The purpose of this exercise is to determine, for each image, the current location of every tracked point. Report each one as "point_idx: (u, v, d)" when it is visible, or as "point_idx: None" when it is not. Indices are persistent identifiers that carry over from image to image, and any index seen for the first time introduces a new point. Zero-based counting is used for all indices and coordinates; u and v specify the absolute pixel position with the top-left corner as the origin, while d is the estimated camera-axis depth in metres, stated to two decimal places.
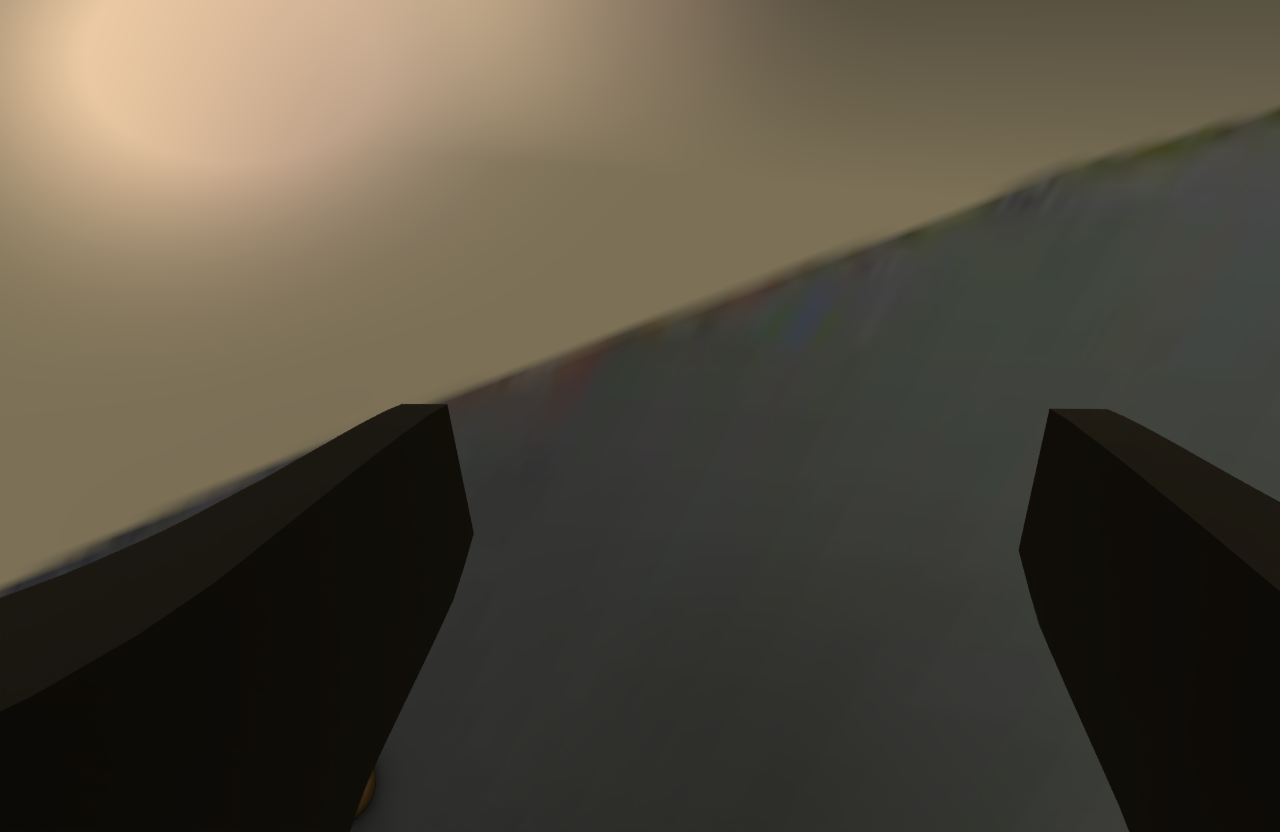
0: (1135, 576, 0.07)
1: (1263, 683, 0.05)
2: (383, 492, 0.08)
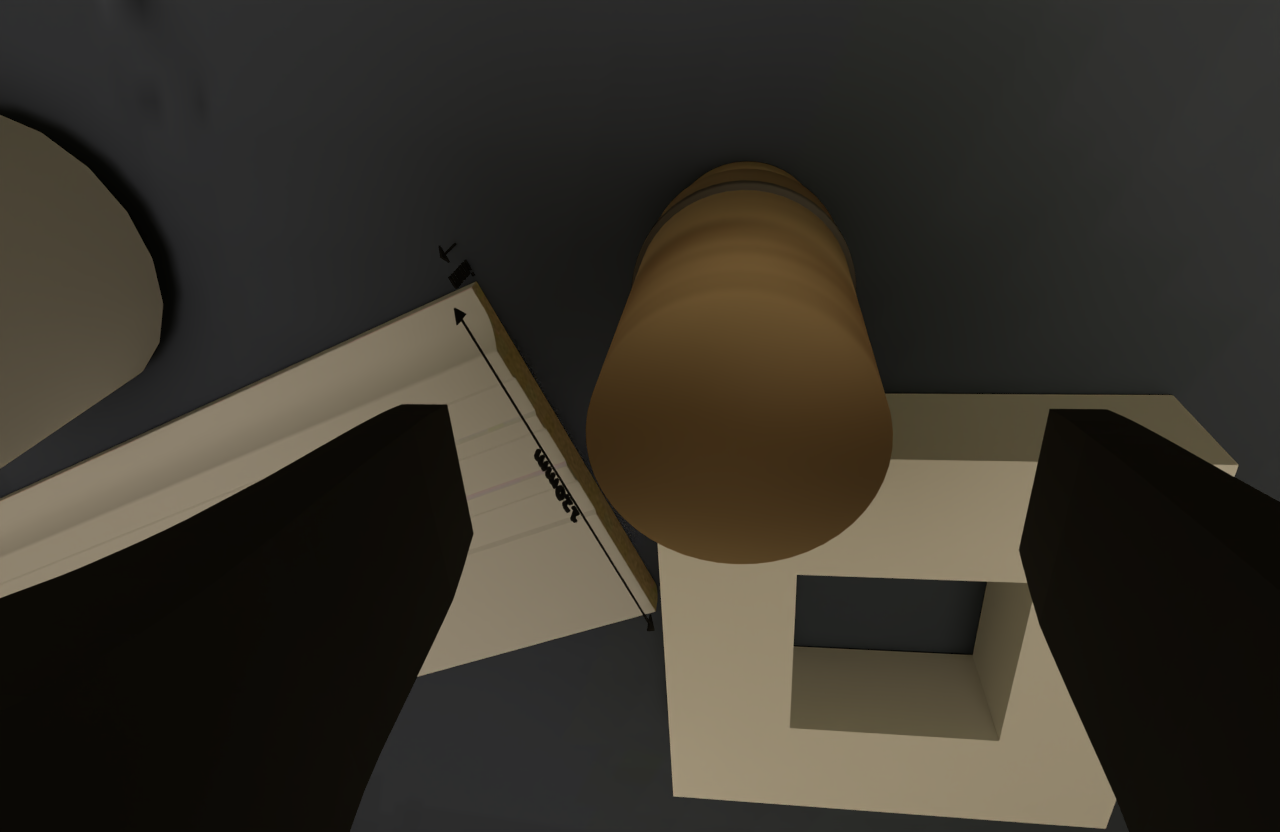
0: (1134, 576, 0.07)
1: (1262, 683, 0.05)
2: (383, 492, 0.08)
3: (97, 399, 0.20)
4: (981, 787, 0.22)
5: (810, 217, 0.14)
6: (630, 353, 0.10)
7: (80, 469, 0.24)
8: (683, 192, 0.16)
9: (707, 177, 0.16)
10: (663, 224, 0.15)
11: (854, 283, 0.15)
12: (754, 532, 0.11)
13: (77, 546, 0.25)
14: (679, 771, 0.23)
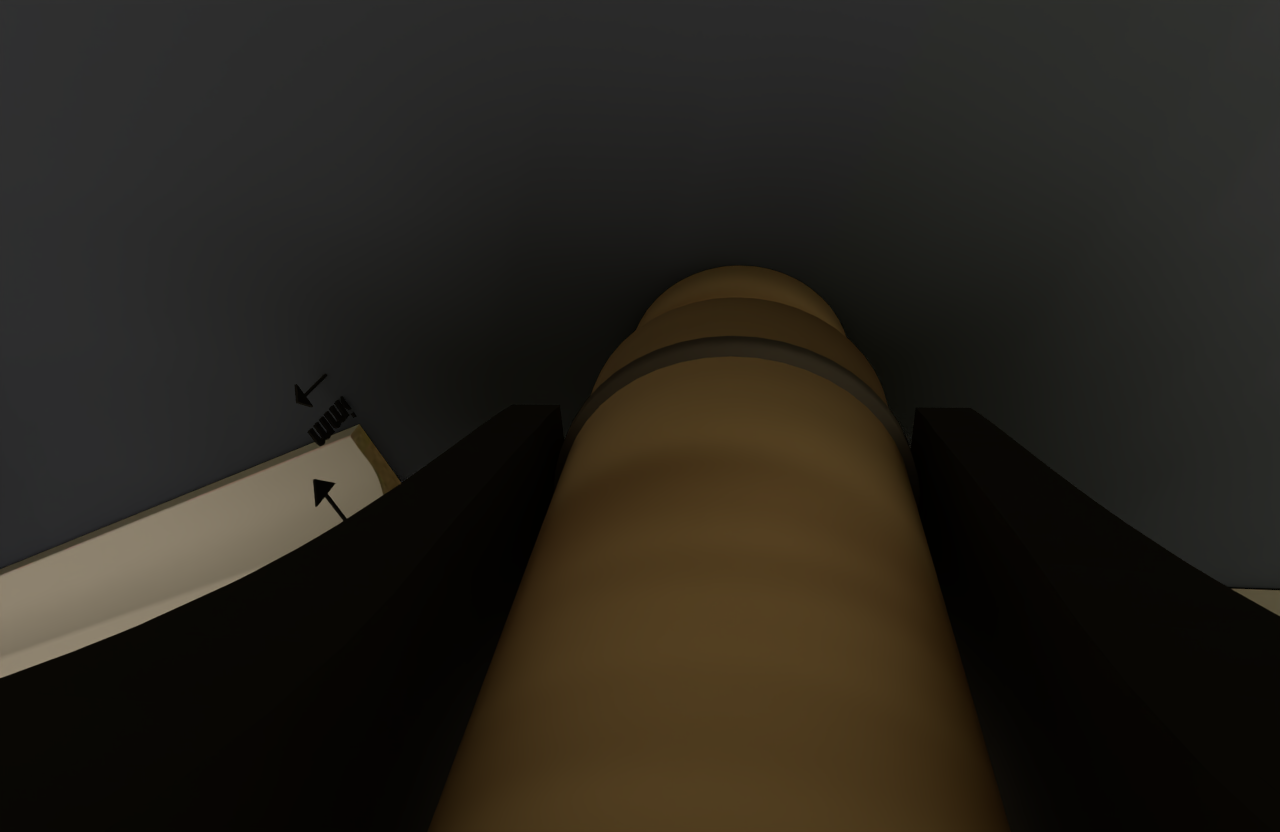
0: (966, 570, 0.07)
1: (1041, 672, 0.06)
2: (515, 495, 0.08)
3: None
4: None
5: (848, 411, 0.08)
6: None
7: None
8: (639, 332, 0.10)
9: (677, 310, 0.10)
10: (599, 405, 0.09)
11: (917, 500, 0.09)
12: None
13: None
14: None
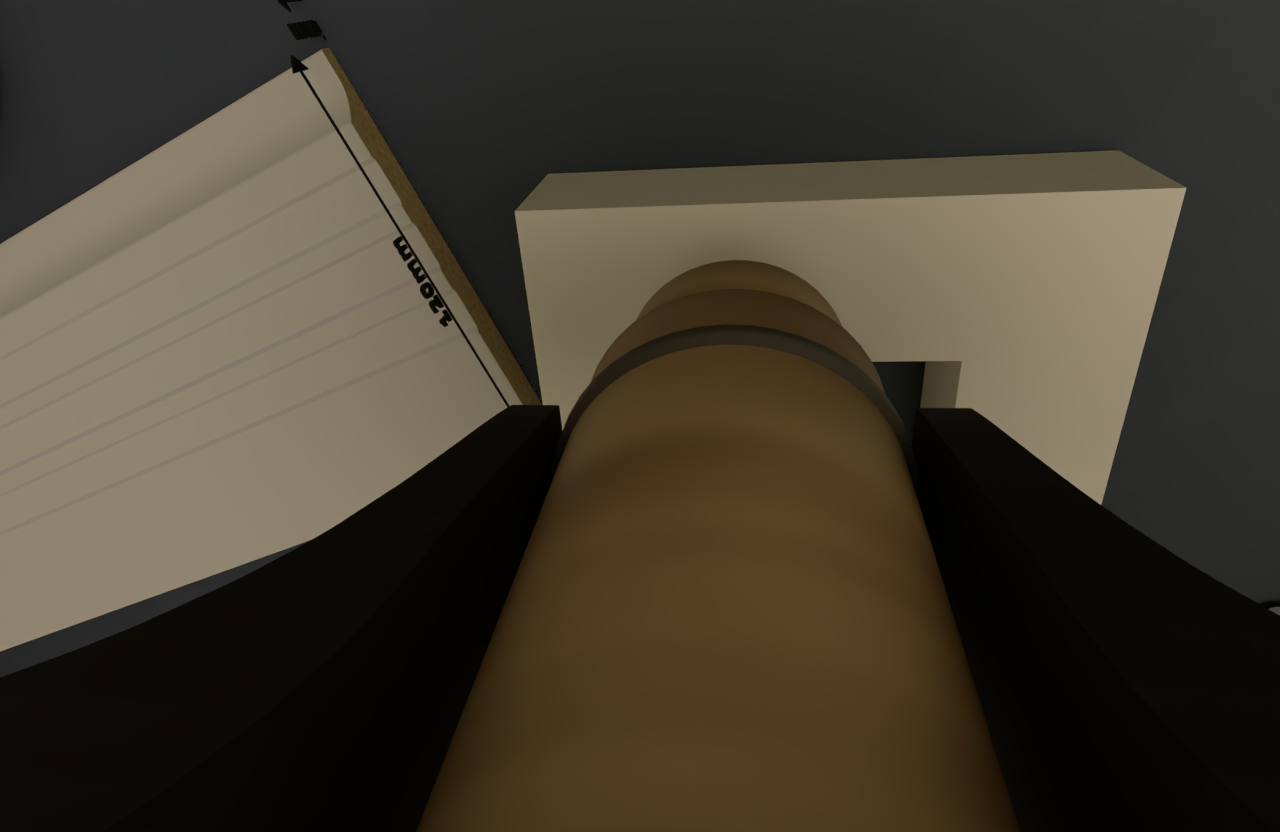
0: (967, 570, 0.07)
1: (1041, 672, 0.06)
2: (515, 495, 0.08)
3: None
4: None
5: (843, 396, 0.08)
6: None
7: None
8: (634, 326, 0.10)
9: (671, 303, 0.10)
10: (595, 397, 0.09)
11: (916, 486, 0.09)
12: None
13: None
14: None
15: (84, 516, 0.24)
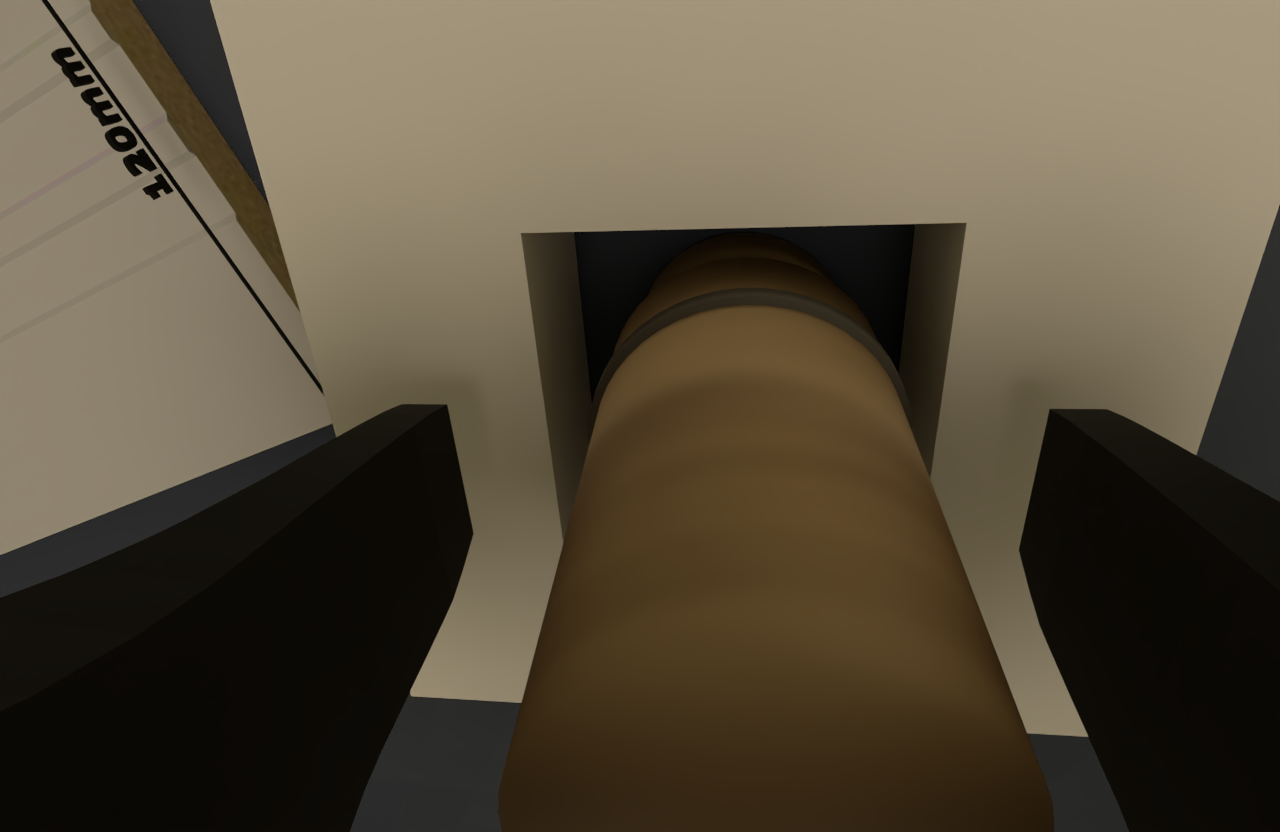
0: (1135, 576, 0.07)
1: (1263, 683, 0.05)
2: (382, 492, 0.08)
3: None
4: None
5: (847, 346, 0.09)
6: (567, 717, 0.05)
7: None
8: (655, 293, 0.11)
9: (688, 271, 0.11)
10: (627, 355, 0.10)
11: (910, 426, 0.10)
12: None
13: None
14: None
15: None
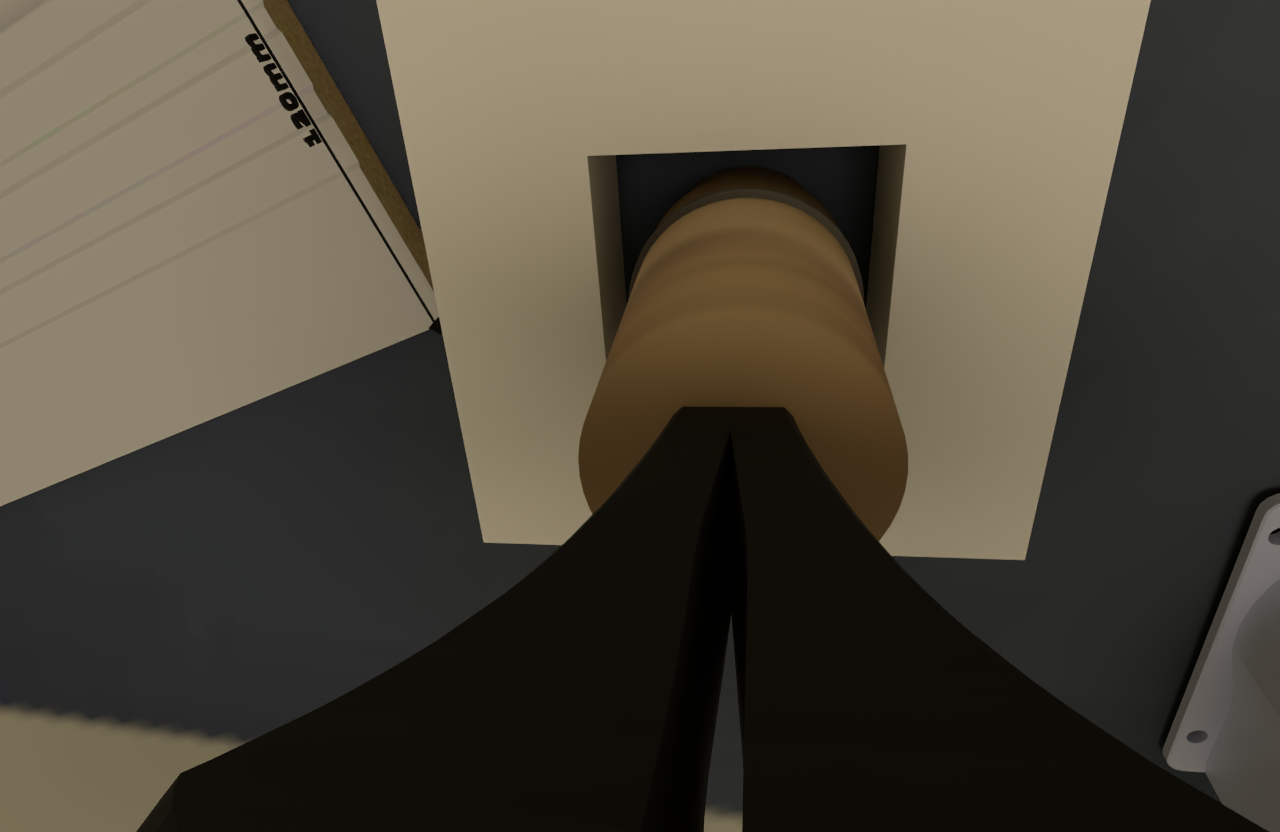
0: (738, 562, 0.08)
1: None
2: (720, 500, 0.08)
3: None
4: None
5: (813, 224, 0.13)
6: (622, 380, 0.09)
7: None
8: (679, 201, 0.15)
9: (704, 185, 0.15)
10: (659, 236, 0.14)
11: (862, 291, 0.14)
12: None
13: None
14: (484, 502, 0.18)
15: None
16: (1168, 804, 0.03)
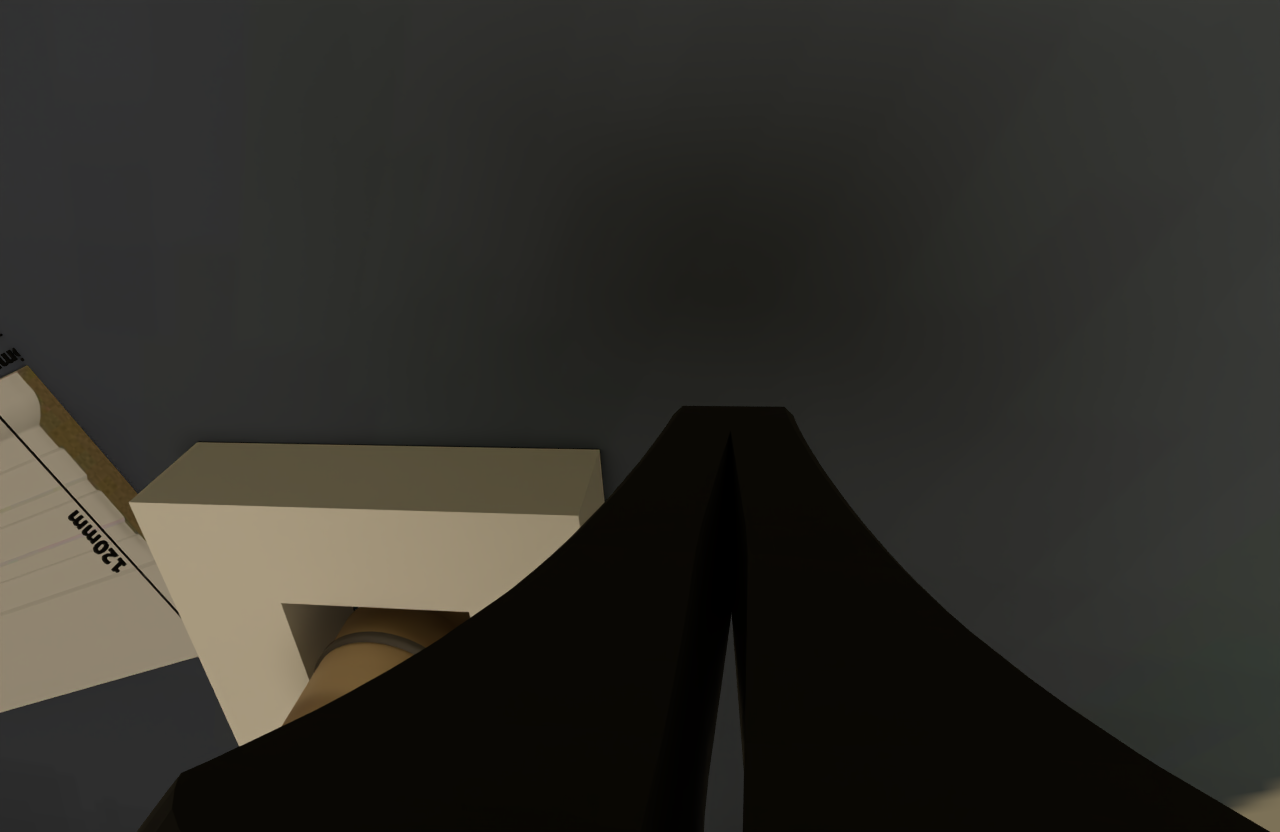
0: (739, 562, 0.08)
1: None
2: (720, 500, 0.08)
3: None
4: None
5: None
6: None
7: None
8: (354, 612, 0.23)
9: None
10: (324, 656, 0.22)
11: None
12: None
13: None
14: None
15: None
16: (1168, 804, 0.03)
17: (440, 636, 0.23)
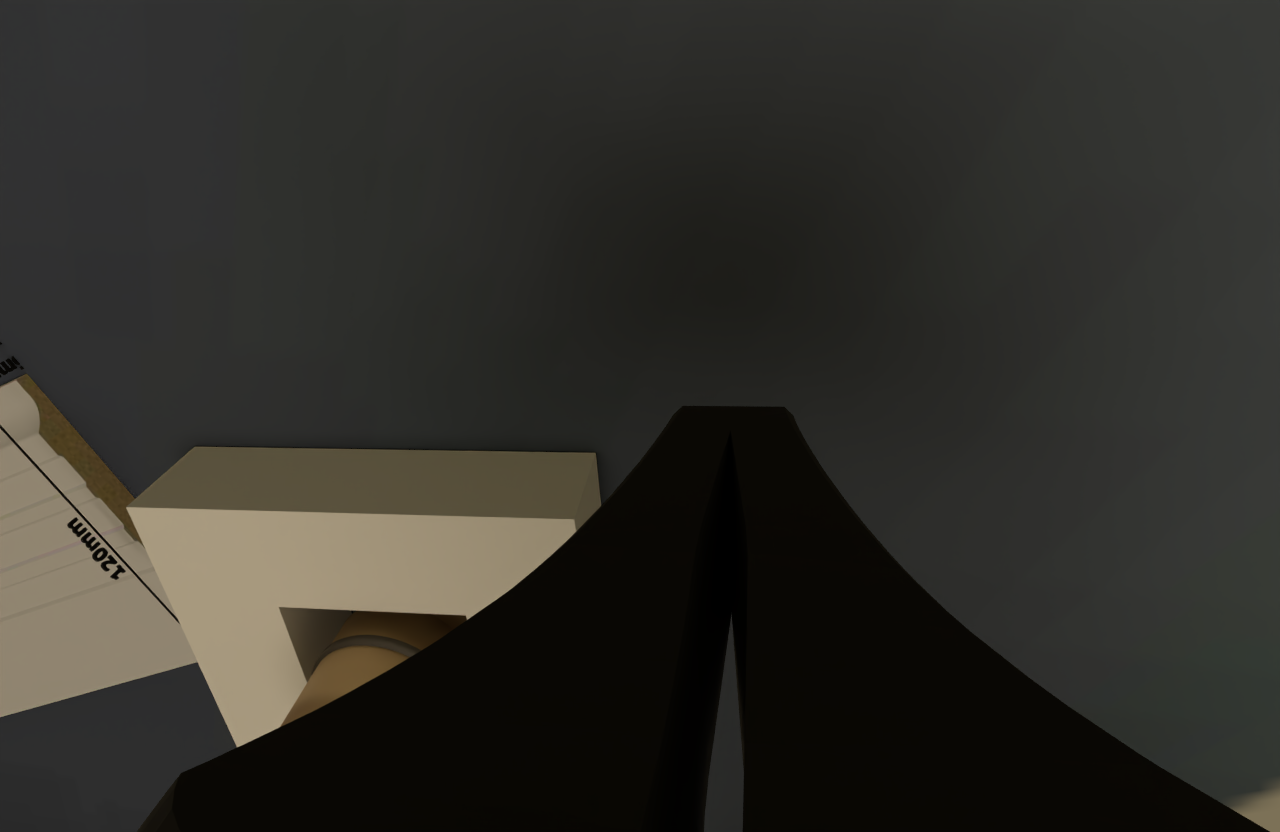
0: (738, 563, 0.08)
1: None
2: (720, 500, 0.08)
3: None
4: None
5: None
6: None
7: None
8: (352, 616, 0.23)
9: None
10: (321, 660, 0.22)
11: None
12: None
13: None
14: None
15: None
16: (1168, 804, 0.03)
17: (437, 639, 0.23)
